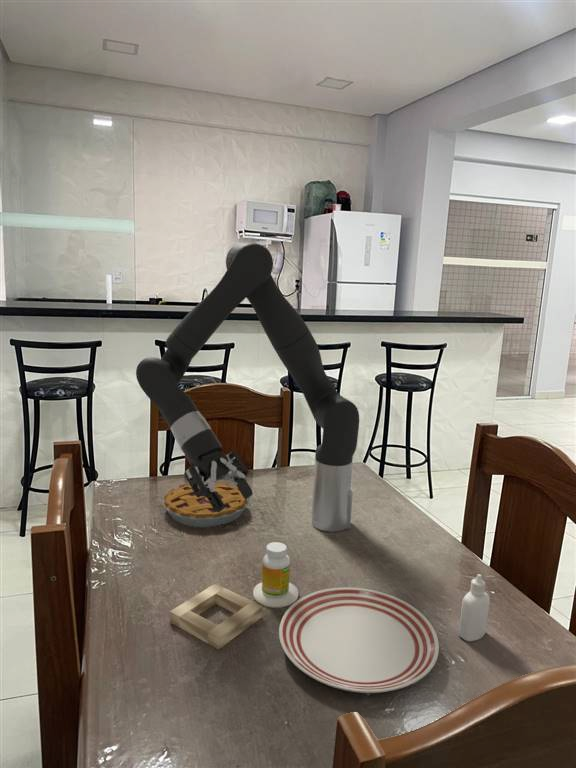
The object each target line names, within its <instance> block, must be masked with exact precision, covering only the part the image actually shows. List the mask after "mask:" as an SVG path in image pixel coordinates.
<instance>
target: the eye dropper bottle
mask: <svg viewBox="0 0 576 768" xmlns="http://www.w3.org/2000/svg"><path fill="white" fill-rule="evenodd" d="M486 585H487V584H486V582H485V581H484V580H483V579H482V574H479V573H478V574H476V577H475V578H472V579H471V581H470V590H469V591H468V592H467V593H466V594H464V597H463V599H462V603H461V610H460V618H459V619H460V620H459V625H458V626H459V627H458V637H460V638H462V640H464V641H466V642H475V641H479V640H481V639H482V638H483V637H484V636H485V634H486V632H487V625H488V619H489V610H490V609H489V608H490V603H491V602H490V601H491V598H490V594H488V593H487V592H486Z"/></svg>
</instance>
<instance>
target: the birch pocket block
mask: <svg viewBox="0 0 576 768" xmlns="http://www.w3.org/2000/svg"><path fill="white" fill-rule="evenodd" d="M214 604H215V605H217V606H219V607H221V608H224V609H225V610H227V611H229V612H231V613H233V614H232V615H230V616H229V617H228V618H226V619H225V620H224V621H222V622H221V623H219V624H216V623H214V622H212V621H211V620H210V619H207V618H206V617H203V616H201V614H202V613H204V612H205V611H207V610H209V609H210V608H211V607H213V606H215V605H214ZM263 610H264V606H263V605H261V604H259V603H258V602H255V601H253V600H251V599H248V598H246V597H244V596H243V595H241V594H238V593H236V592H233V591H232V590H229V589H228V588H225V587H223V586H221V585H219V584H218V583H214V584H212V585H211V586H209V587H207V588H205V589H204V590H202V591H201V592H199V593H198V594H195V596H192V597H191V598H189V599H187V600H186V601H185V602H182V603H181V604H180V605H178V606H176V607H175V608H173V609H171V610H170V611H169V623H170V624H172V625H174V626H176V627H178V628H180V629H181V630H183V631H185V632H186V633H189V634H190V635H192V636H194V637H195V638H197V639H199V640H201V641H203V642H204V643H206V644H208V645H210V646H211V647H213V648H215V649H217V650H220V649H221V648H223V647H224V646H225V645H227V644H228V643H229V642H231V641H232V640H233V639H234V638H237V636H239V635H240V634H242V633H243V632H244V631H245V630H247V629H248V628H250V627H251V626H252V625H254V624H255V623H256V622H257V621H259V620H260V619H262V618H263ZM250 625H251V626H250ZM246 628H247V629H246ZM230 640H231V641H230Z"/></svg>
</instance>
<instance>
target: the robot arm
mask: <svg viewBox="0 0 576 768" xmlns="http://www.w3.org/2000/svg"><path fill="white" fill-rule="evenodd" d="M225 258H226V259H225V268H226V272H225V273H224V275H223V276H222V277H221V278H220V280H219V282H218V283H217V284H216V285H215V287H214V288H213V289H212V290H211V291H210V292H209V293H208V294H207V295H206V296H205V297H204V298H203V299H202V300H201V301H200V302H199V303H197V304H196V305H195V306H194V307H193V308H192V309H191V310H190V311H189V312H188V313H187V314H186V315H185V316H184V317H183V319H182V320H180V322H179V323H178V324H177V326H176V327H175V328H174V329H173V331H172V332H171V333H170V334H169V335H168V337H167V338H166V339H165V346H166V350H165V351H164V353H163V355H162V356H161V358H159V357H155V356H154V357H153V356H149V357H145V358H143V359H142V360H140V361H139V363H138V365H137V367H136V371H135V375H136V380H137V384H138V385H139V387H140V388H141V390H142V391H143V393H145V395H146V397H148V398H149V400H150V401H151V402H152V404H154V405H155V407H156V408H157V409H158V410H159V412H160V413H161V415H162V418H163V419H164V421H165V422H166V423H167V425H168V427H169V429H170V431H171V432H172V436H173V437H174V439H175V442H177V445H178V447H179V448H180V450H181V451H182V453H183V454H184V456H185V457H186V459H187V461H188V462H189V464H190V466H189V467H188V468H187V469H186V470H185V471H184V473H183V474H184V477H185V479H186V481H187V482H188V485H190V486H191V488H192V490H193V492H194V493H195V495H196V497H198V498H199V497H200V496H204V497H206V498H207V499H208V500H209V502H210V504H211V505H212V507H213V509H214V510H216V511H217V512H220V511H222V510H223V509H224V508H225V504H224V503H223V501H222V500H221V498H220V496H219V495H218V493H217V491H216V492H214V491H215V483H216V481H218V480H219V481H220V480H223V479H225V480H227V481H229V480H230V481H232V483H235V484H236V486H235V487H237V488H238V489H239V491H240V492H241V494H242V495H243V497H244V499H249V498H250V497H251V496H253V490H252V488H251V486H250V485H249V482H248V481H247V480H246V476H247V475H249V474H250V471H249V469H248V467H247V465H245V463H244V461H243V460H242V458H241V457H240V455H239V454H238V453H237V451H235V450H232V451H230V453H227V454H225V453H224V452H223V451H222V447H223V446H222V444H221V442H220V441H219V438H218V437H217V436H216V434H215V432H214V431H213V429H212V428H211V426H210V424H209V423H208V422H207V419H206V418H205V417H204V416H203V415H202V413H201V412H200V411H199V409H198V407H197V405H195V402H194V401H193V399H192V398H191V397H190V395H189V394H187V393H186V392H185V390H182V389H181V387H180V386H179V383H180V382H181V381H182V380H183V377H184V376H185V374H186V372H187V370H188V368H189V366H190V365H191V362H192V360H193V358H194V357H195V356H196V355H197V354H198V352H199V351H200V350H201V349H202V348H203V347H204V346H205V345H206V343H208V341H209V340H210V338H211V337H212V335H214V334H215V332H216V331H217V329H219V328H220V326H221V325H222V323H223V322H224V321H225V320H226V319H227V318H228V316H229V315H230V314H231V313H232V312H233V311H235V309H236V308H237V307H238V306H239V305H240V304H241V303H242V302H243V301H245V299H247V300H248V302H249V304H250V305H251V307H252V308H253V310H254V312H255V314H256V316H257V318H258V321H259V322H260V325H261V327H262V329H263V330H264V332H265V335H266V336H267V338H268V339H269V340H268V341H269V342H270V344H271V346H272V347H273V349H274V351H275V353H276V354H277V356H278V357H279V360H280V361H281V362H282V364H283V366H284V367H285V368H286V370H287V372H288V373H289V375H290V377H291V378H292V379H293V380H294V383H296V384H297V386H298V387H299V389H300V390H301V393H302V394H303V396H304V398H305V401H306V403H307V405H308V408H309V409H310V412H311V414H312V417H313V419H314V421H315V423H316V424H317V425H318V426H319V427H320V428H322V430H323V431H322V437H321V439H322V440H321V444H319V445H318V446H317V447H316V448H315V455H314V475H313V493H312V509H311V510H312V511H311V525H312V526H313V527H314V528H315V529H317V530H320V531H323V532H329V533H330V532H332V533H334V532H335V533H336V532H337V533H338V532H341V531H344V530H347V529H351V523H352V522H351V520H352V510H353V508H352V507H353V497H354V494H353V491H352V490H351V487H352V472H353V461H354V459H353V457H354V454H355V452H356V450H357V447H358V446H357V445H358V438H359V429H360V414H359V410H358V407H357V405H356V404H355V403H353V402H352V401H351V400H349V399H347V398H346V397H343V396H342V395H341V394H340V393H339V392H338V391H337V389H336V388H335V386H334V385H333V383H332V382H331V381H330V379H329V377H328V375H327V374H326V372H325V368H324V365H323V360H322V356H321V352H320V348H319V347H318V343H317V341H316V340H315V337H314V335H312V333H311V331H310V329H309V327H308V324H306V322H305V321H304V319H303V318H302V316H301V315H300V314H299V312H298V311H297V310H296V309H295V308H294V307H293V305H292V304H291V303H290V302H289V301H288V299H287V298H286V297H285V295H283V293H282V292H281V291H280V289H279V287H278V285H277V284H276V282H275V279H274V277H273V274H272V272H273V269H274V258H273V257H272V254H271V252H270V250H269V249H268V248H267V247H265V246H264V245H263V244H260V243H257V242H250V241H244V242H243V241H242V242H239V243H236V244H234V245H233V246H232V247H230V249H229V250H228V251H227V254H226V257H225ZM197 485H198V486H197ZM198 487H199V488H198Z"/></svg>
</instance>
